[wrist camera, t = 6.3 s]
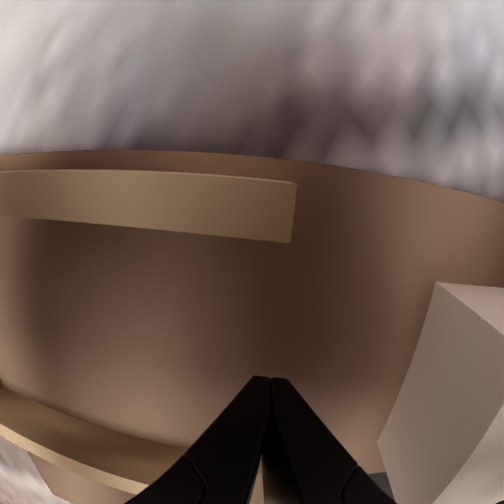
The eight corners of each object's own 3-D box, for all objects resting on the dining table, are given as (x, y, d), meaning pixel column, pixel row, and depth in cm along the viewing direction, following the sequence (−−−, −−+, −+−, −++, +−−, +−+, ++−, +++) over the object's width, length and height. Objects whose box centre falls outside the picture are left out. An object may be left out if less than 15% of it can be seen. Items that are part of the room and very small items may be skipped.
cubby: (290, 181, 7) (297, 184, 5) (248, 472, 10) (244, 515, 8) (-38, 174, 7) (-77, 179, 6) (2, 399, 10) (-20, 422, 8)
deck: (570, 227, 8) (622, 245, 5) (437, 505, 13) (450, 541, 10) (-4, 158, 9) (-67, 163, 6) (64, 474, 14) (43, 509, 11)
